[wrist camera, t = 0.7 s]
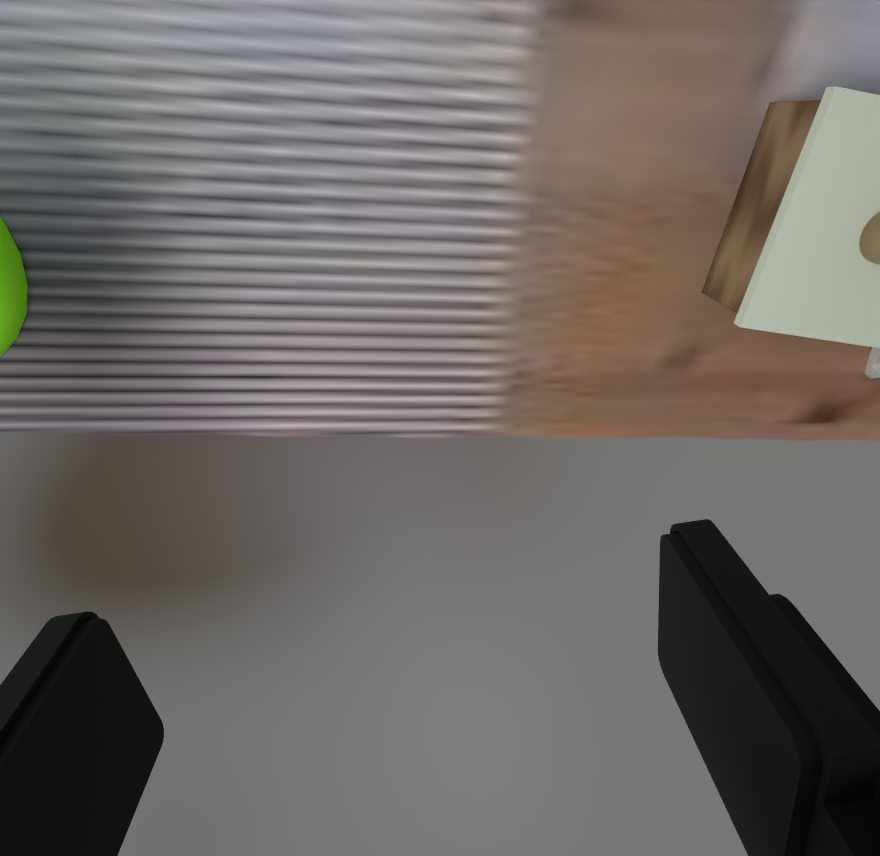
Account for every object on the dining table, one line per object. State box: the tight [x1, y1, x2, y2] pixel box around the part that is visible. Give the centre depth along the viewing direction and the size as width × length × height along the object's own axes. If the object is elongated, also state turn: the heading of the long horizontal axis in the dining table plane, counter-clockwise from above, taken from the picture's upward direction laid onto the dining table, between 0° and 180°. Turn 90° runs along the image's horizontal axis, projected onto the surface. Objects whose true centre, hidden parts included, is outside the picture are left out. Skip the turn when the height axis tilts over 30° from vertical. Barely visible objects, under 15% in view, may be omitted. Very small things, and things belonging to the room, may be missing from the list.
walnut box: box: [702, 100, 821, 313], centre depth 38 cm, size 12×12×6 cm
